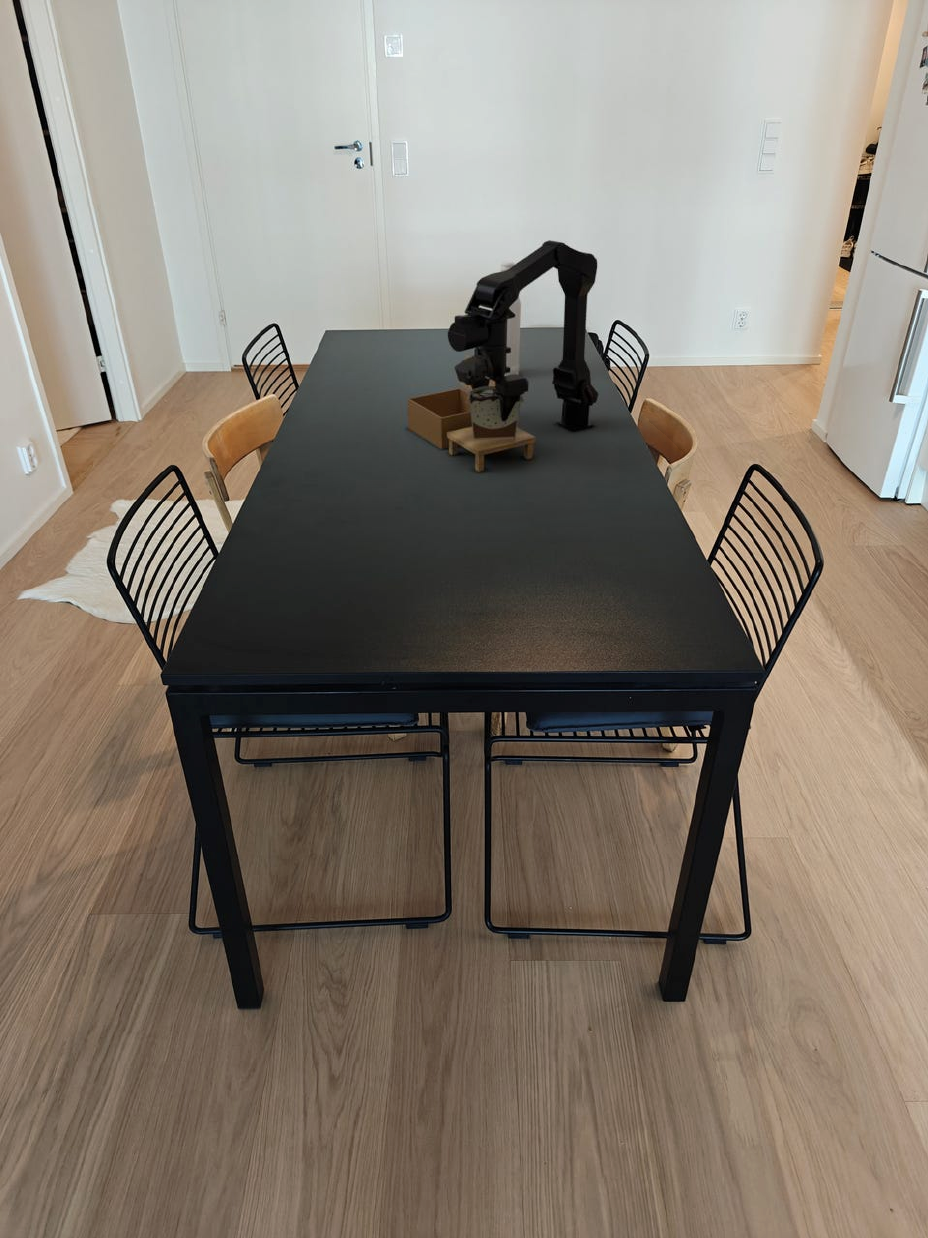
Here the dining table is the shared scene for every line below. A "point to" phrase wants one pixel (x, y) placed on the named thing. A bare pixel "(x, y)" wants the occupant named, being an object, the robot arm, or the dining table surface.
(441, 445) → the cardboard box
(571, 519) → the dining table surface
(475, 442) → the stool
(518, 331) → the bottle
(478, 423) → the food container
